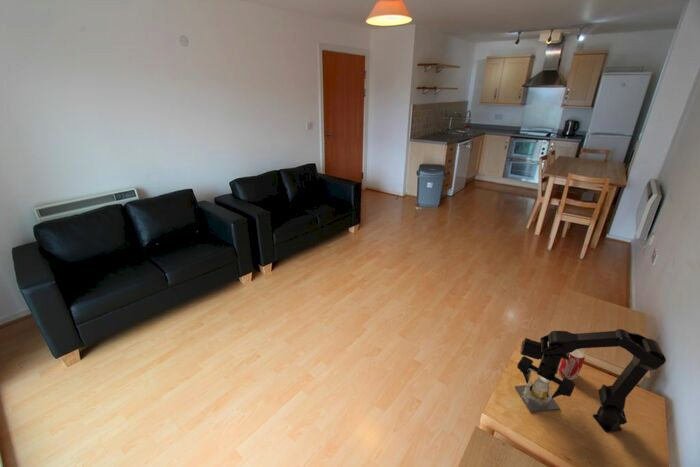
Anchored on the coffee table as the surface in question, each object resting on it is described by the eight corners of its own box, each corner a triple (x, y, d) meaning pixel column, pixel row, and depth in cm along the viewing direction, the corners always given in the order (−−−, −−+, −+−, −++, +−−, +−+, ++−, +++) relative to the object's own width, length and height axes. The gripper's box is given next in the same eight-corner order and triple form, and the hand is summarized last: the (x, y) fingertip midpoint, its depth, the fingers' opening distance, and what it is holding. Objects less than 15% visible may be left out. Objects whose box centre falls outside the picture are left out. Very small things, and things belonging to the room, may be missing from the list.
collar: (559, 409, 127) (562, 403, 125) (530, 412, 126) (532, 405, 124) (542, 385, 136) (544, 378, 135) (514, 387, 136) (516, 381, 134)
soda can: (557, 377, 140) (566, 355, 134) (557, 365, 146) (565, 343, 140) (577, 383, 137) (587, 361, 131) (575, 371, 143) (585, 349, 137)
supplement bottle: (530, 399, 129) (536, 383, 125) (529, 389, 134) (535, 372, 129) (545, 404, 127) (552, 388, 123) (544, 393, 132) (551, 377, 127)
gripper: (585, 363, 121) (572, 391, 128) (531, 337, 133) (522, 364, 140) (576, 381, 114) (563, 410, 121) (521, 352, 126) (512, 380, 133)
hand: (539, 390), depth 129 cm, fingers open, 9 cm apart
